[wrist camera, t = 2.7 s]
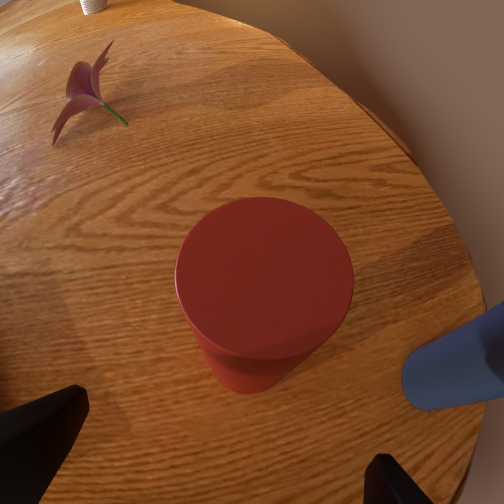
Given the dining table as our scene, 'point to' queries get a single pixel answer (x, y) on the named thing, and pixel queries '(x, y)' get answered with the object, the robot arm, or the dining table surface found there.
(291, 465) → the dining table surface
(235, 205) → the red pin
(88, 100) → the lily
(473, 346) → the blue pin
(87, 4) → the cup
